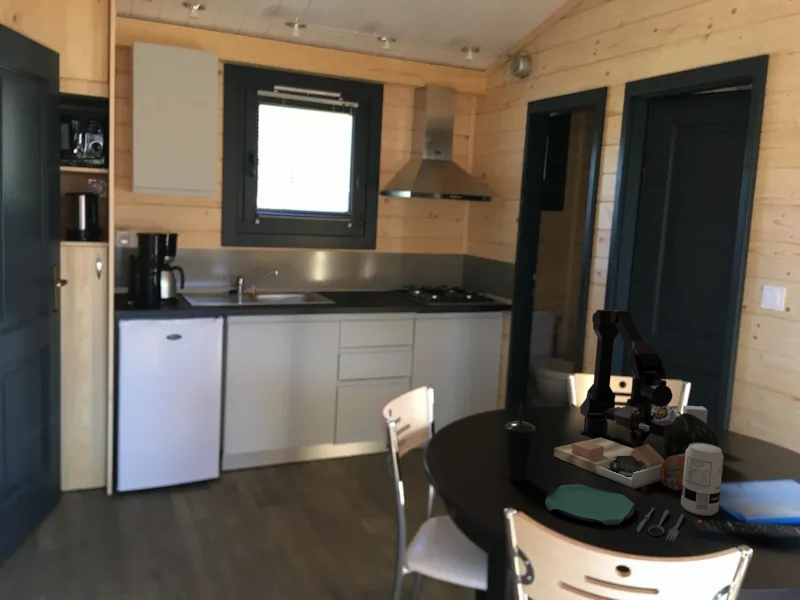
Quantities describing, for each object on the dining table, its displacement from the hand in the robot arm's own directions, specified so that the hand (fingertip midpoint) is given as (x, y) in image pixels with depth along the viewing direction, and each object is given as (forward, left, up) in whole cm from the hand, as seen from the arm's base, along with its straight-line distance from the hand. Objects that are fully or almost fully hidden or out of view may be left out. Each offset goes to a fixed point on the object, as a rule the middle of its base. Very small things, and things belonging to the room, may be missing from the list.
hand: (636, 451), depth 197 cm
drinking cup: (-9, -36, -4) cm, 38 cm away
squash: (+6, +16, -4) cm, 17 cm away
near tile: (-8, -11, -1) cm, 14 cm away
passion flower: (-17, +37, -4) cm, 40 cm away
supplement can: (+27, -12, -4) cm, 30 cm away
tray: (+5, -5, -4) cm, 8 cm away
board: (-8, -5, -4) cm, 11 cm away
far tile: (+3, +1, -2) cm, 3 cm away
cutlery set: (+18, -33, -5) cm, 38 cm away
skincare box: (-2, +30, -4) cm, 30 cm away
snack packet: (+16, -2, -4) cm, 17 cm away
